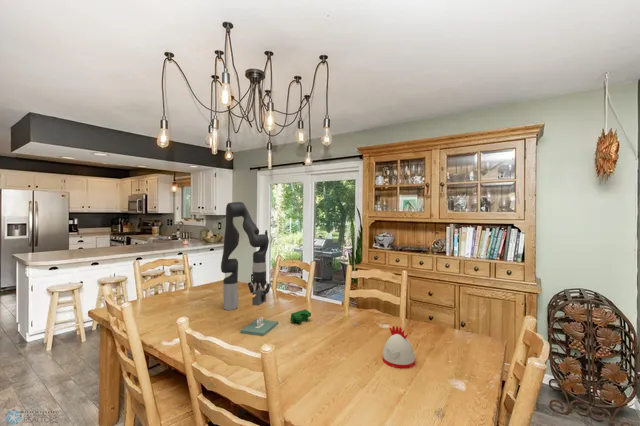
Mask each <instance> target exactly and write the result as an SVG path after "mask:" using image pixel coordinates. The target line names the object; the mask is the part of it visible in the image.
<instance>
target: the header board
mask: <svg viewBox="0 0 640 426" xmlns="http://www.w3.org/2000/svg"><path fill="white" fill-rule="evenodd" d="M278 324H279V321H278V320H277V321H275V320H268V319H264V316H261V317H259V318H256V319H255V320H253V321H252V322H250V323H248V324H247V325H245V326H244V327H243V328H242V329H241V328H240V330H239V332H240V333H239V334H246V335H253V336H260V337H265V335H266V336H267V334H268V333H270V331H272V330H273V329H274V328H276V326H278Z"/></svg>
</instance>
